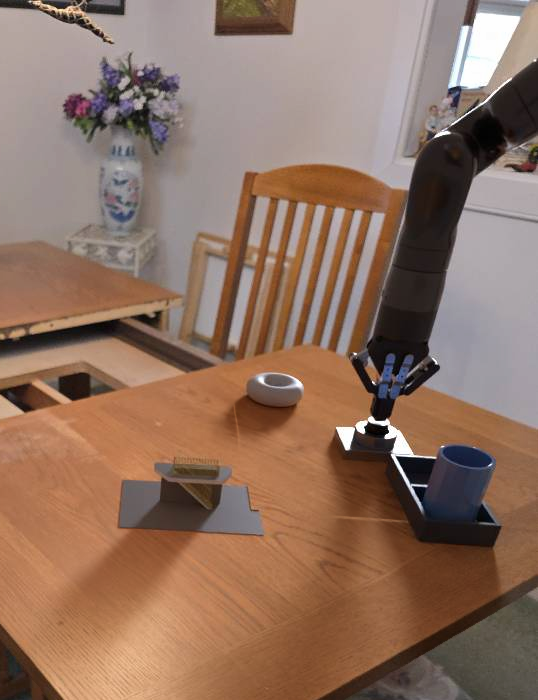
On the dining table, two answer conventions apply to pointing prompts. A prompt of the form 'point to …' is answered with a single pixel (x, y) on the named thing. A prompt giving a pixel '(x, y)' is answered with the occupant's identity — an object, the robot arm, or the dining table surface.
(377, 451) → the control block
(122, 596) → the dining table surface
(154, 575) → the dining table surface
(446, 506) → the cup
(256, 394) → the donut
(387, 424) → the button
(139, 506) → the platform
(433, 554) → the dining table surface
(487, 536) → the black divided tray
